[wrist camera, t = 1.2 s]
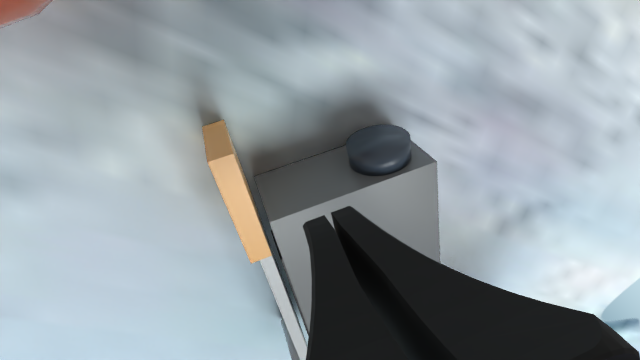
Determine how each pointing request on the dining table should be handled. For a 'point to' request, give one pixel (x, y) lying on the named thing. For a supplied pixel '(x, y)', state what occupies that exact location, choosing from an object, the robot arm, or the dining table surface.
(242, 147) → the dining table surface
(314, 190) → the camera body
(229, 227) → the dining table surface
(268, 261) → the side door
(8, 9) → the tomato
